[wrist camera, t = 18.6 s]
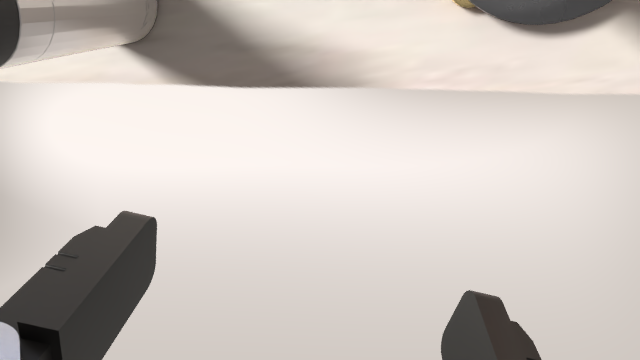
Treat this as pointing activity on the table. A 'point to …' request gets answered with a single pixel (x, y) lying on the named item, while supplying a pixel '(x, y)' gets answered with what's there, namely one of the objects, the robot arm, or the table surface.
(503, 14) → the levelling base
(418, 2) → the table surface
